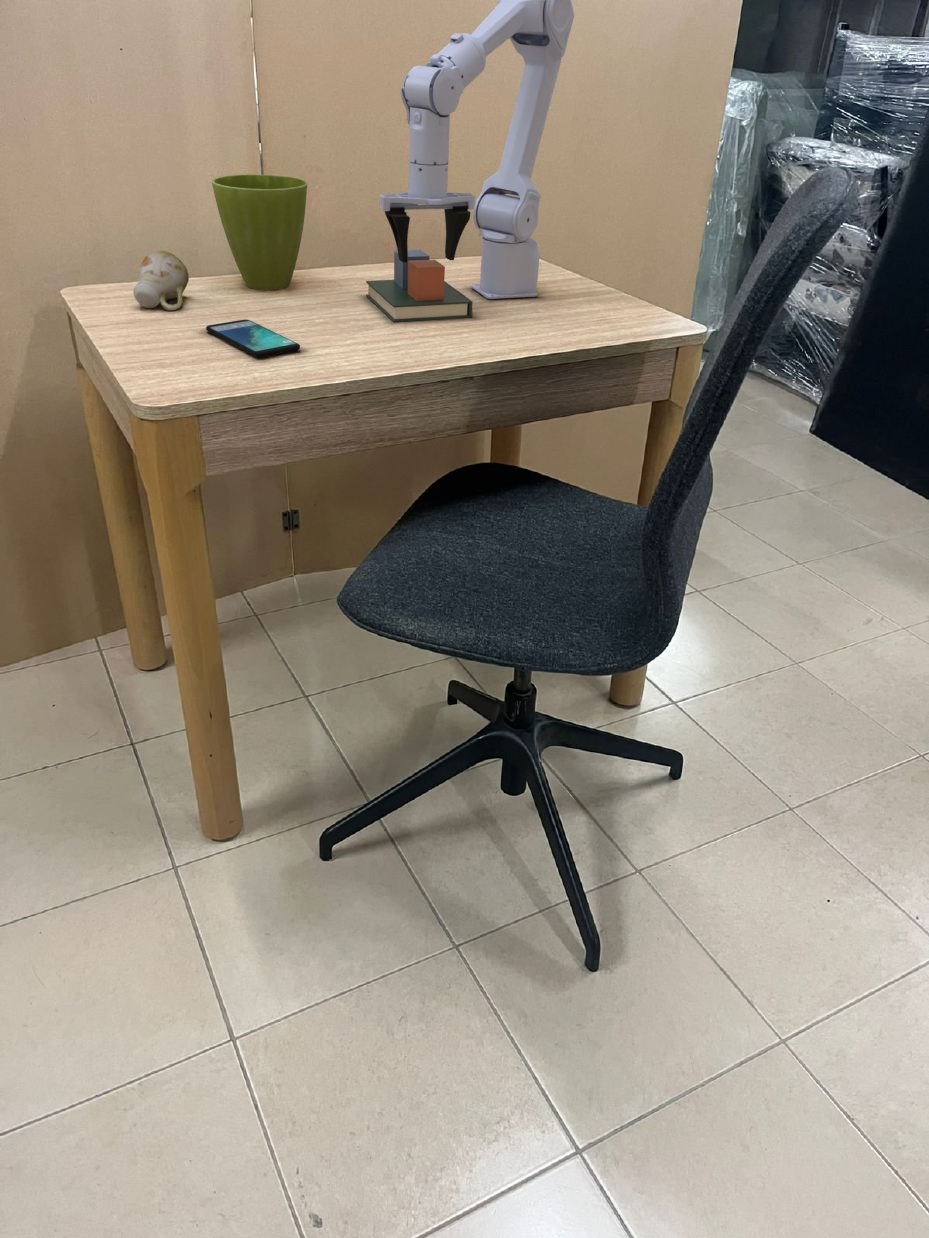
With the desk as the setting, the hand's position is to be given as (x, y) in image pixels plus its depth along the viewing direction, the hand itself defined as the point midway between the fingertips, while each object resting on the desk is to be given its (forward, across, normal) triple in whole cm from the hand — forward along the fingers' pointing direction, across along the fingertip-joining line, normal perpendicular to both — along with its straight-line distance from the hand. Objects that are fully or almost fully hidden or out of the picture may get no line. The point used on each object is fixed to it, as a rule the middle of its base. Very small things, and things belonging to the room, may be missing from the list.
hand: (426, 260), depth 140 cm
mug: (+8, -39, +13) cm, 42 cm away
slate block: (+6, 0, +7) cm, 9 cm away
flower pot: (+8, -21, +21) cm, 31 cm away
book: (+8, 0, +4) cm, 9 cm away
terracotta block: (+6, 0, 0) cm, 6 cm away
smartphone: (+8, -29, -9) cm, 31 cm away
